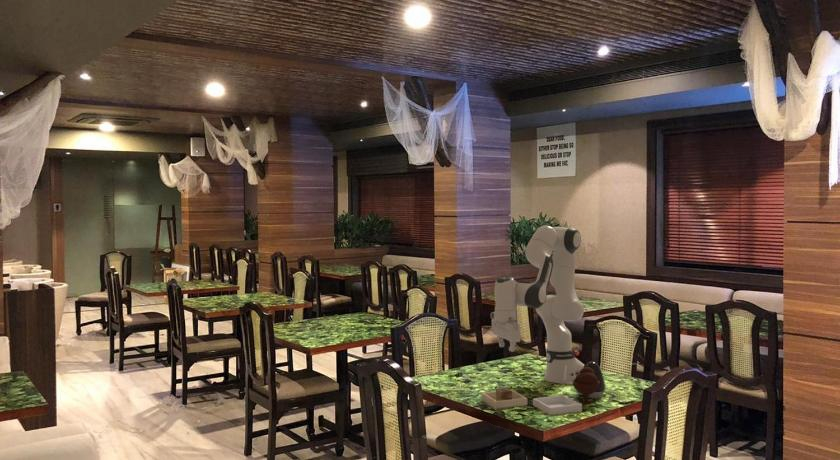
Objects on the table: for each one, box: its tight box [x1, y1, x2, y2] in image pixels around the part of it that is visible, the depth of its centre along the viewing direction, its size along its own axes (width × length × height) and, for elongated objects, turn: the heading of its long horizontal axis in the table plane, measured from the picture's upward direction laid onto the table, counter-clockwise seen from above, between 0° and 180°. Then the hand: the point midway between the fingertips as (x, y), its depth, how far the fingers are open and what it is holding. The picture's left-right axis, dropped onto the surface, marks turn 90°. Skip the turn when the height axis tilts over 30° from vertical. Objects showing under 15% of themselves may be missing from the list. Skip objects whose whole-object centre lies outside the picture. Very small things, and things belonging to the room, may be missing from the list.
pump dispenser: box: [584, 361, 606, 400], centre depth 288 cm, size 10×10×15 cm
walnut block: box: [495, 387, 512, 401], centre depth 279 cm, size 5×5×5 cm
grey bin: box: [532, 395, 583, 416], centre depth 270 cm, size 14×14×4 cm
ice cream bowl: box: [572, 367, 600, 405], centre depth 277 cm, size 11×11×15 cm
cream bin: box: [481, 389, 528, 411], centre depth 279 cm, size 14×14×4 cm
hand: (506, 349), depth 283 cm, fingers open, 8 cm apart
